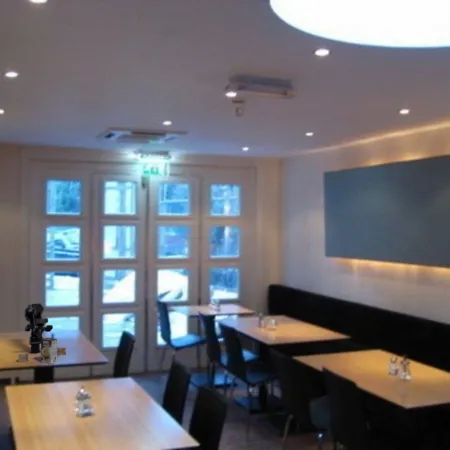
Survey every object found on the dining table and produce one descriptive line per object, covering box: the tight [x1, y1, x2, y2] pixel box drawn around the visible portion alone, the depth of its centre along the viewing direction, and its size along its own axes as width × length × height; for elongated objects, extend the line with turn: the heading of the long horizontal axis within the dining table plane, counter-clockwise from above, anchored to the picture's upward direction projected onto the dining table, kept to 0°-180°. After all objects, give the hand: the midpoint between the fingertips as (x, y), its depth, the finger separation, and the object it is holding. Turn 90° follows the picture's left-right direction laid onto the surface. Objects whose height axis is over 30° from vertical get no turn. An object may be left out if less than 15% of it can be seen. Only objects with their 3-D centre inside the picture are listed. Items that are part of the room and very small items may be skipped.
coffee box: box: [40, 337, 58, 365], centre depth 411 cm, size 9×6×16 cm
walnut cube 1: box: [17, 353, 29, 363], centre depth 413 cm, size 5×5×5 cm
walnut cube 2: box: [57, 346, 67, 357], centre depth 433 cm, size 5×5×5 cm
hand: (40, 338), depth 424 cm, fingers closed
